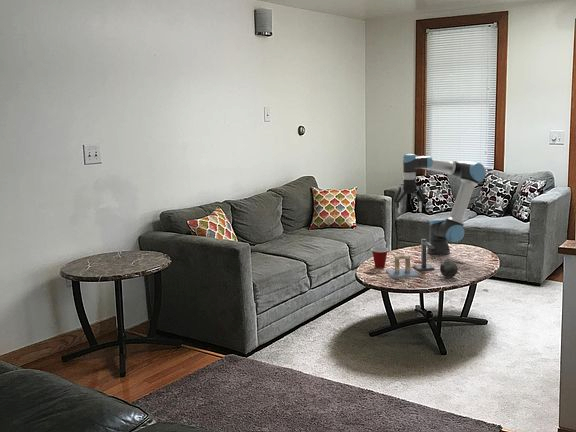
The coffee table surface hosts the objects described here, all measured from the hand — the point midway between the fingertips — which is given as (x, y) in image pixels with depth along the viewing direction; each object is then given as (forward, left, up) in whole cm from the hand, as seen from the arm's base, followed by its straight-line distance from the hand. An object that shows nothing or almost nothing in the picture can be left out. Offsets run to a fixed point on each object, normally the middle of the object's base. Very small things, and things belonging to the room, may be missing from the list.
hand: (409, 212), depth 397 cm
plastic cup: (+21, +6, -33) cm, 39 cm away
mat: (+12, +25, -33) cm, 43 cm away
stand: (-4, +22, -33) cm, 40 cm away
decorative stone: (-12, +38, -33) cm, 52 cm away
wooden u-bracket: (+12, +25, -32) cm, 42 cm away
